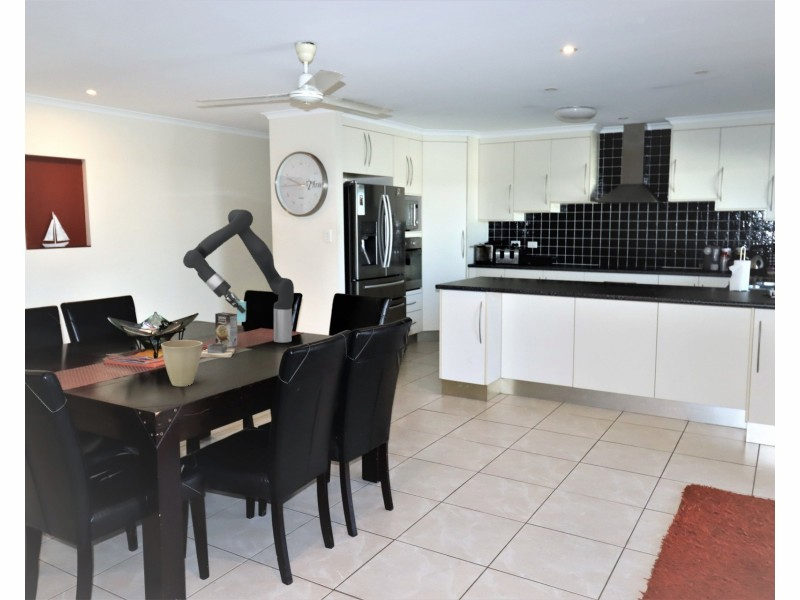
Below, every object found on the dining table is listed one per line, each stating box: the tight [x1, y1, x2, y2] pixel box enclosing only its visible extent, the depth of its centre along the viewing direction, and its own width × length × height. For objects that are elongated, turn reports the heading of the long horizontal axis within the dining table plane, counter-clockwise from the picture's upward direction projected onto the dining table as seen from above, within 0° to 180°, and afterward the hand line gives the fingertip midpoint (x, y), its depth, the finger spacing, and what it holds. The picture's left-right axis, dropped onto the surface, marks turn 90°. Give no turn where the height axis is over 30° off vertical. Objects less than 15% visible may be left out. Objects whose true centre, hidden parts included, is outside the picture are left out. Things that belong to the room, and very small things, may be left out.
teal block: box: [236, 299, 247, 323], centre depth 289 cm, size 4×4×10 cm
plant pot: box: [160, 339, 203, 387], centre depth 237 cm, size 15×15×16 cm
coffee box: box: [214, 311, 238, 348], centre depth 310 cm, size 9×6×16 cm
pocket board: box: [200, 343, 236, 358], centre depth 291 cm, size 14×14×4 cm
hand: (244, 311), depth 289 cm, fingers closed on teal block, 4 cm apart
